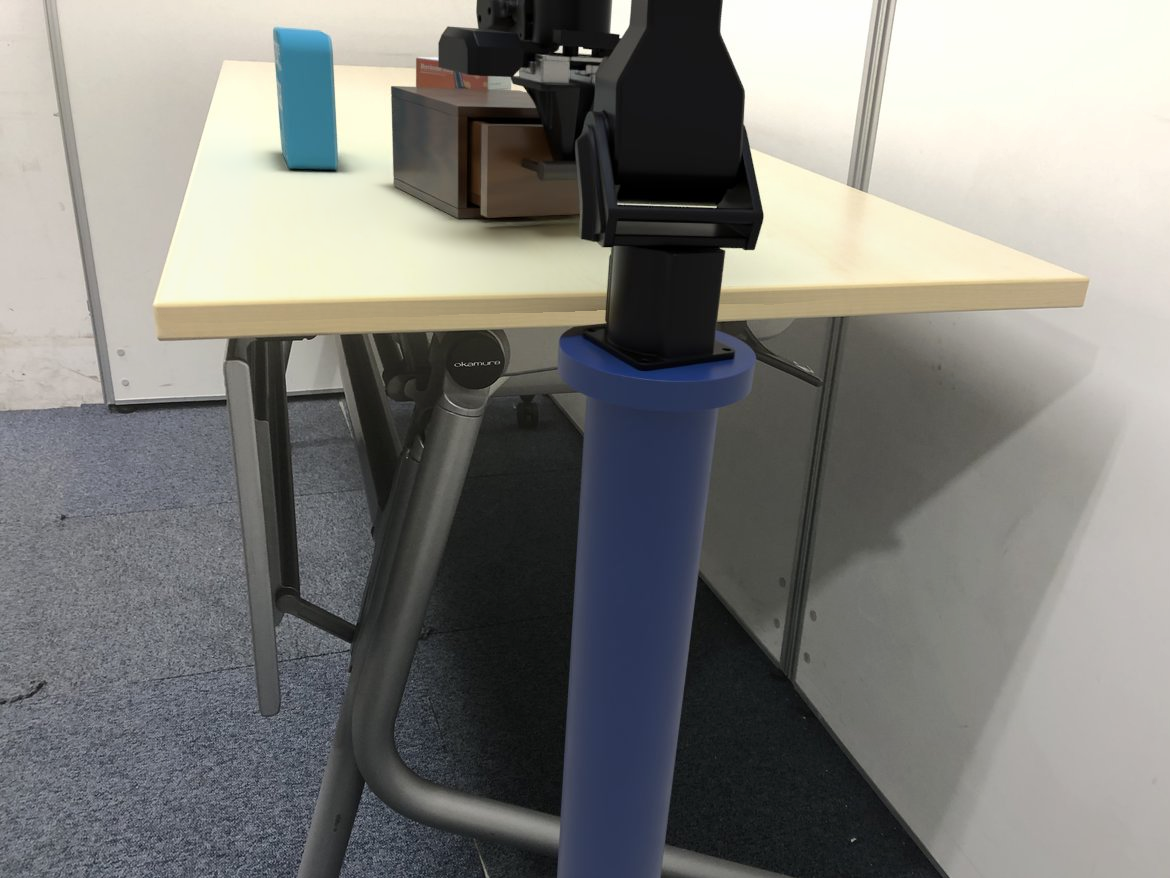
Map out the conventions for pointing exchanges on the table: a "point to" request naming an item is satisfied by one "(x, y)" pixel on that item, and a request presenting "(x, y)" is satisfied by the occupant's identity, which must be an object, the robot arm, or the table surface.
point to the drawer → (517, 170)
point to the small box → (454, 77)
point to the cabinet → (444, 139)
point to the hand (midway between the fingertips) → (564, 177)
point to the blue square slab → (306, 98)
